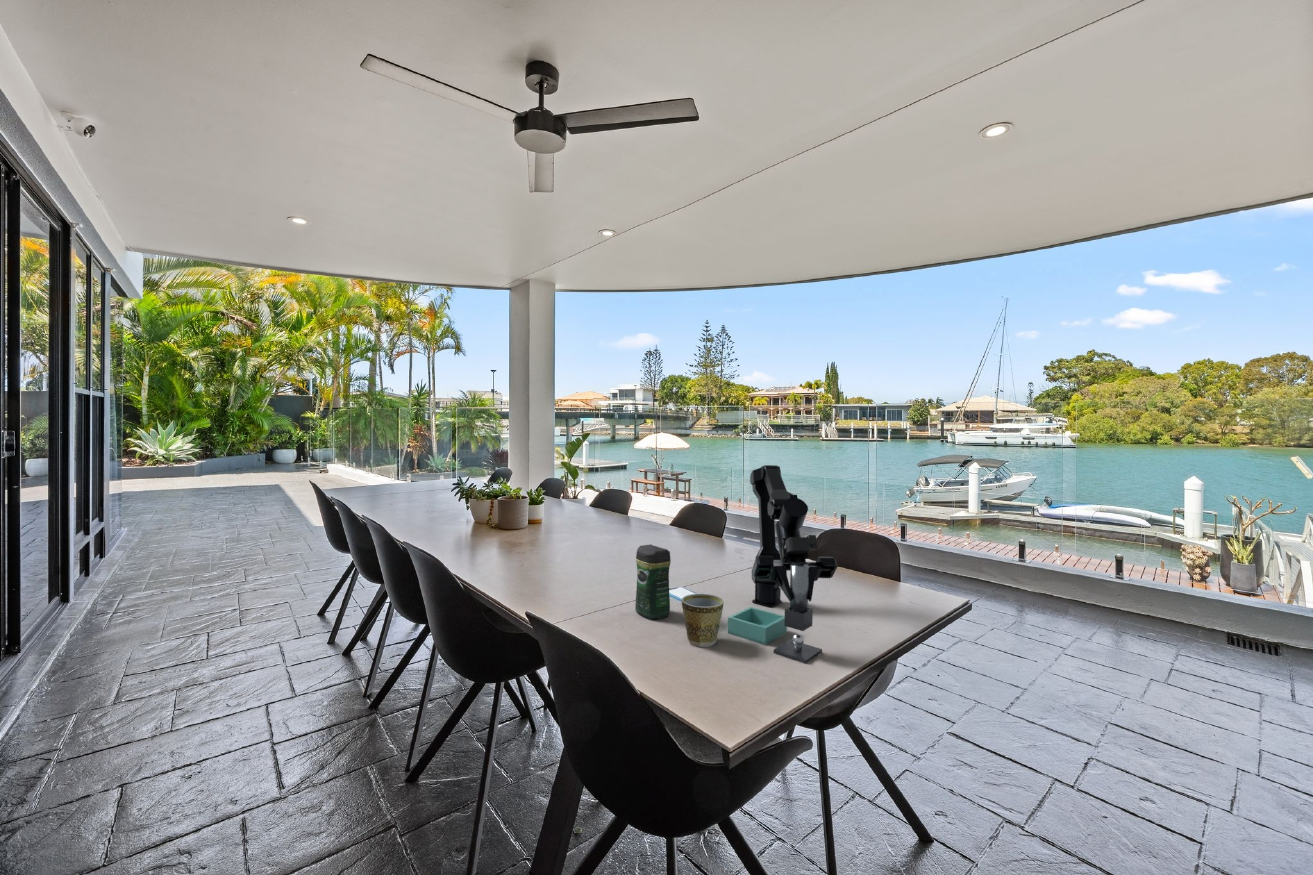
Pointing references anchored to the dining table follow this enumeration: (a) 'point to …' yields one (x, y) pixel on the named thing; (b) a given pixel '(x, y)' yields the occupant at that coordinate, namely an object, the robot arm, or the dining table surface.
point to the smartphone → (679, 593)
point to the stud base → (798, 650)
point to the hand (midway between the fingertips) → (800, 600)
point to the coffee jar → (652, 581)
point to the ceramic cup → (702, 618)
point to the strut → (799, 599)
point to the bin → (757, 625)
